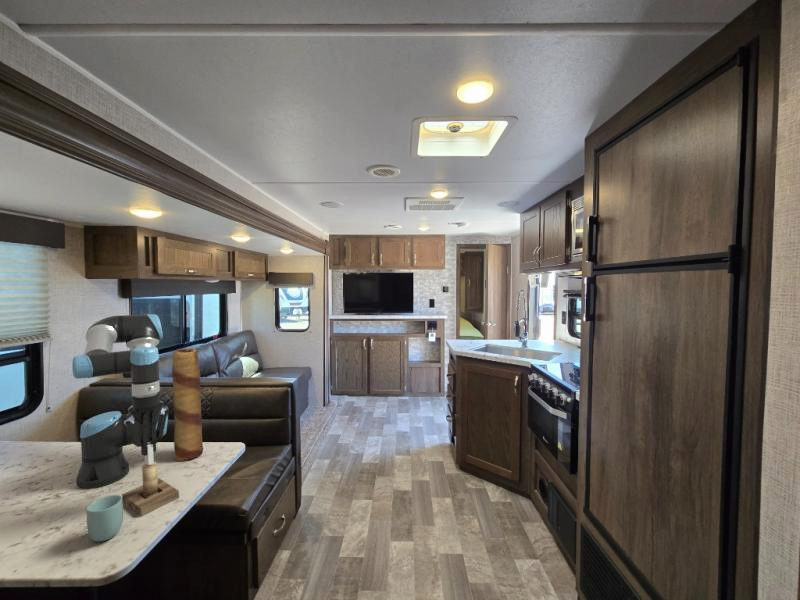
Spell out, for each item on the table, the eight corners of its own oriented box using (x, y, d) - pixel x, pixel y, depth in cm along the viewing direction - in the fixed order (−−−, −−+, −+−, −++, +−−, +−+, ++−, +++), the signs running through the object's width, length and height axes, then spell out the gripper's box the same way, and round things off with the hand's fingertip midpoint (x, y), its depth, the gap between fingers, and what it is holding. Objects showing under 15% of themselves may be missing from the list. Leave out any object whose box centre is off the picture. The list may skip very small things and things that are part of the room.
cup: (102, 527, 104) (100, 495, 103) (129, 525, 105) (128, 493, 104) (80, 547, 96) (78, 512, 96) (110, 545, 97) (108, 511, 96)
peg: (141, 500, 116) (139, 466, 116) (154, 494, 120) (153, 460, 119) (147, 504, 114) (145, 469, 114) (160, 498, 118) (159, 464, 117)
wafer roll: (203, 447, 154) (199, 346, 151) (203, 457, 144) (198, 350, 142) (176, 453, 149) (170, 349, 146) (174, 464, 139) (168, 353, 137)
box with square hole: (122, 501, 116) (122, 494, 116) (159, 484, 125) (158, 478, 125) (141, 516, 109) (141, 508, 109) (178, 497, 118) (178, 490, 118)
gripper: (127, 402, 107) (131, 475, 109) (173, 390, 119) (175, 457, 120) (117, 397, 111) (121, 468, 113) (162, 387, 122) (165, 451, 124)
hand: (149, 462), depth 116 cm, fingers closed
